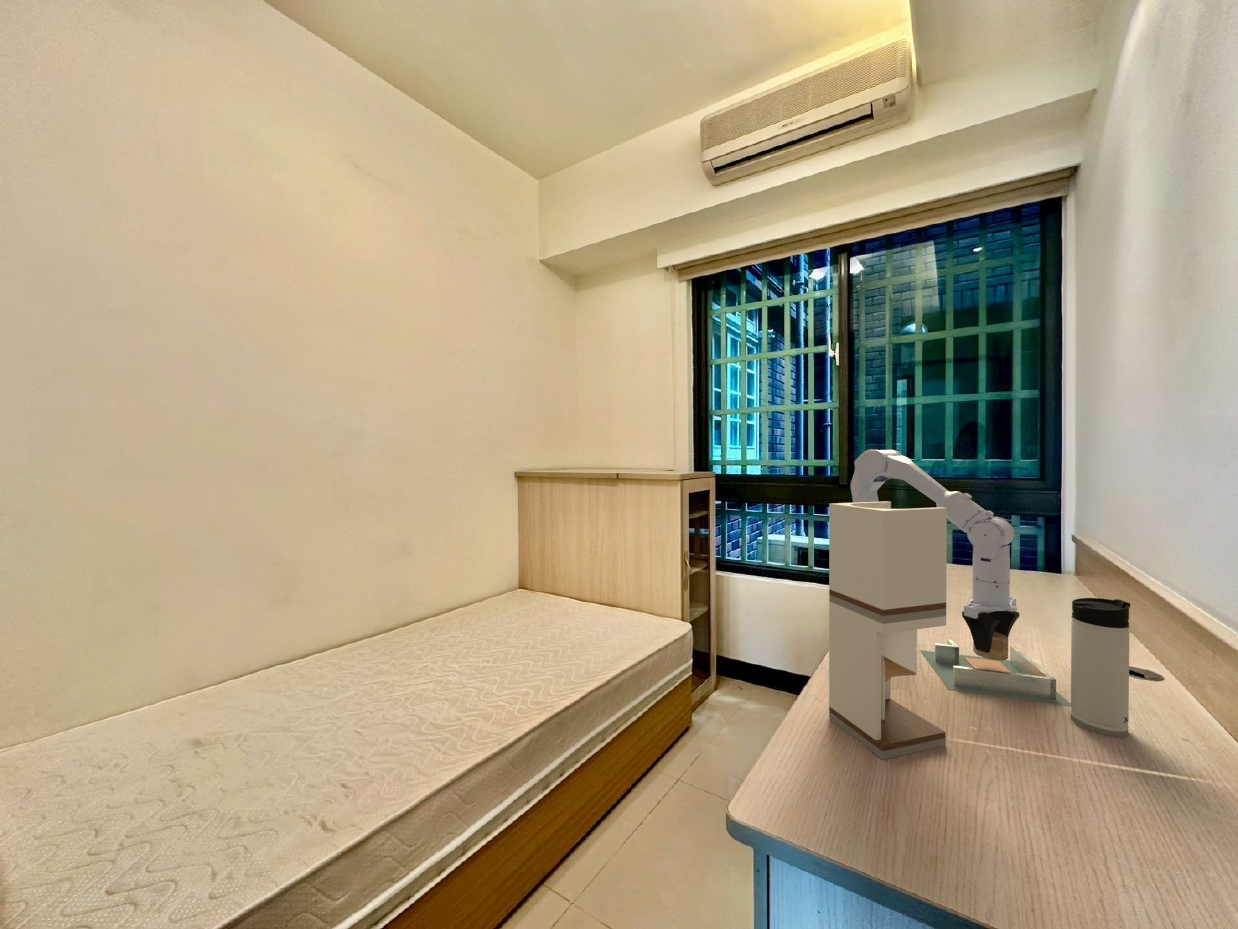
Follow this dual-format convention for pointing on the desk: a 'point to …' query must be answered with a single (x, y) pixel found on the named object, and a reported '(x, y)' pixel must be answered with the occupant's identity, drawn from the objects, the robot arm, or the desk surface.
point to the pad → (986, 664)
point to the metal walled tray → (1000, 674)
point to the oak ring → (995, 648)
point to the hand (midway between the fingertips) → (990, 648)
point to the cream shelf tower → (882, 618)
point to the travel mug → (1100, 665)
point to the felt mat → (947, 678)
